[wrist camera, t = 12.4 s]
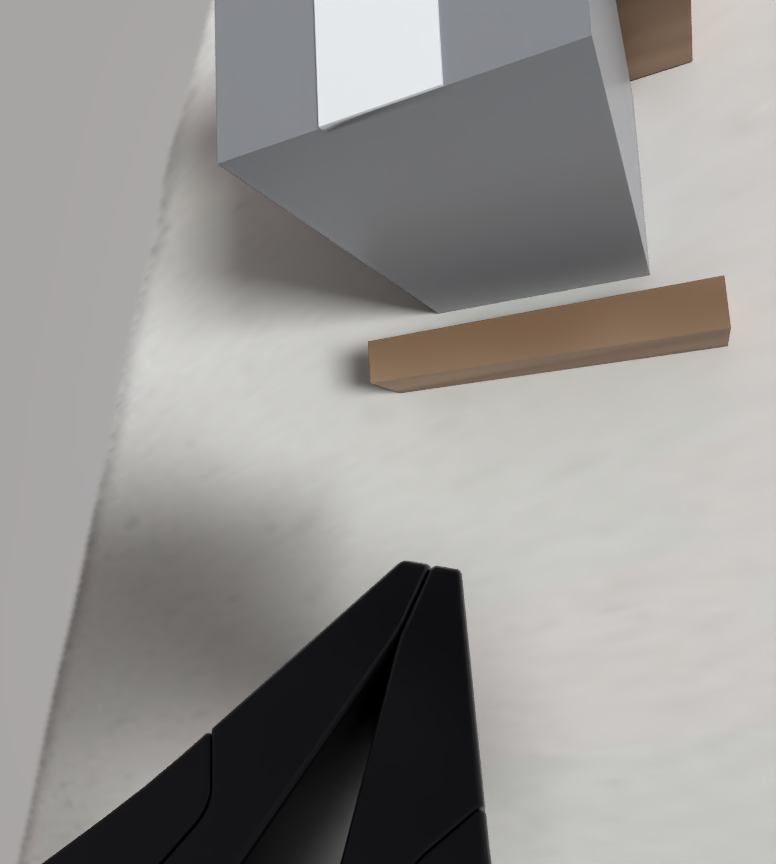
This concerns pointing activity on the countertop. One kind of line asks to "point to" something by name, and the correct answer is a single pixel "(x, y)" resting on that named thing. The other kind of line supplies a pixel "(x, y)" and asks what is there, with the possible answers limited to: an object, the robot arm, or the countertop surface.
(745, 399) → the countertop surface
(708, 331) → the set of wooden blocks
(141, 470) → the countertop surface
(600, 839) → the countertop surface
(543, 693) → the countertop surface
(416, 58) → the block
